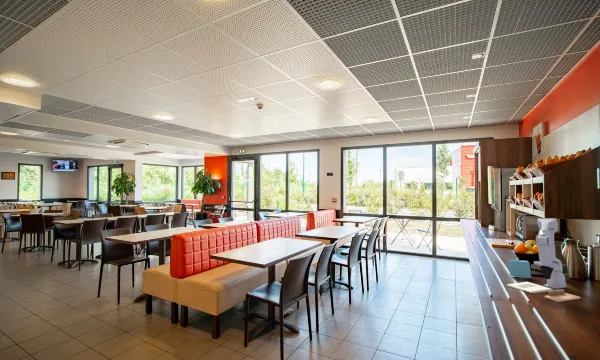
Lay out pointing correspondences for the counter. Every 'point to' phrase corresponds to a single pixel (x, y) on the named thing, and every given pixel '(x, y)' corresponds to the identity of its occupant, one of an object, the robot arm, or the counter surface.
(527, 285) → the board
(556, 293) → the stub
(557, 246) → the beer bottle
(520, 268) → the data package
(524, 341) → the counter surface
